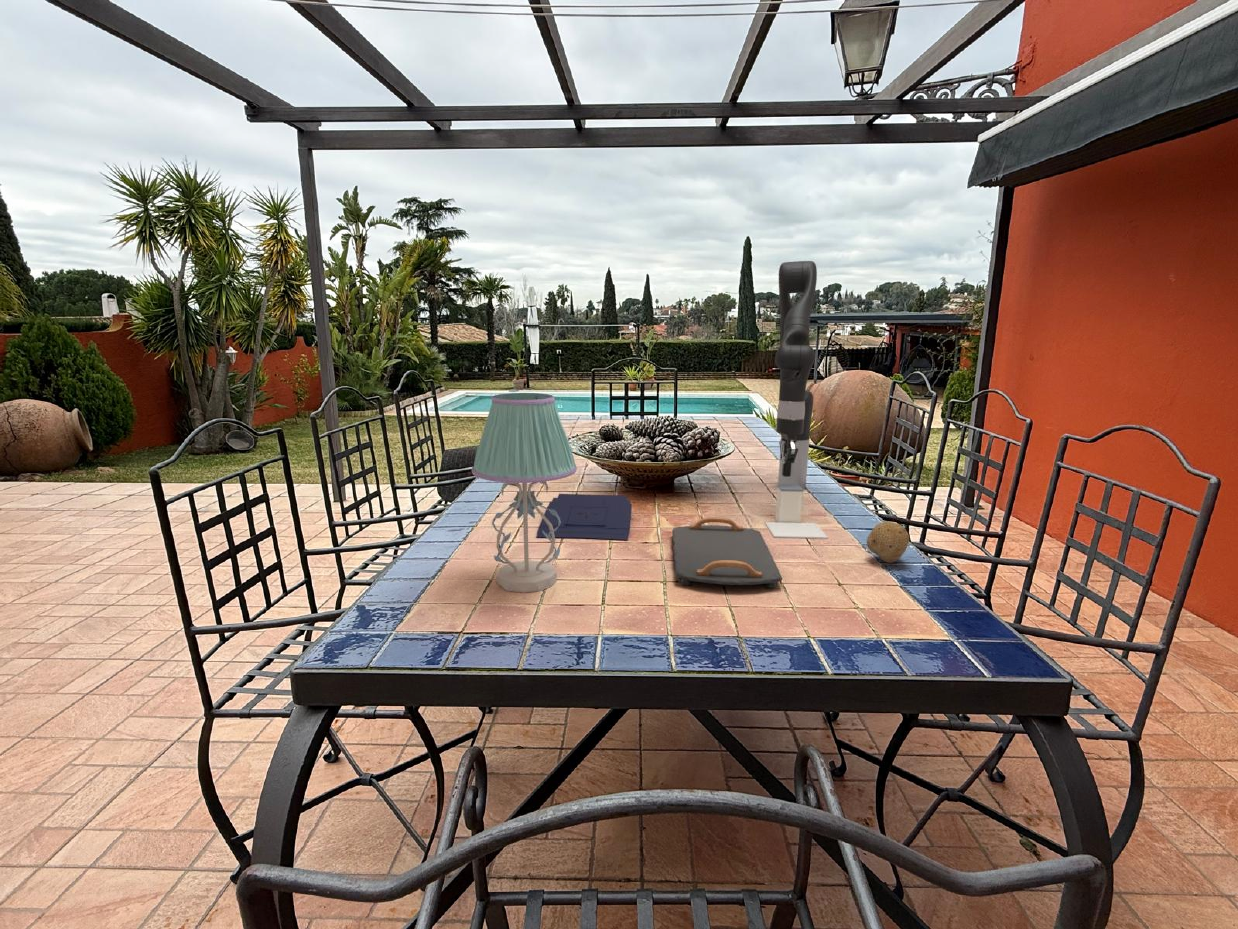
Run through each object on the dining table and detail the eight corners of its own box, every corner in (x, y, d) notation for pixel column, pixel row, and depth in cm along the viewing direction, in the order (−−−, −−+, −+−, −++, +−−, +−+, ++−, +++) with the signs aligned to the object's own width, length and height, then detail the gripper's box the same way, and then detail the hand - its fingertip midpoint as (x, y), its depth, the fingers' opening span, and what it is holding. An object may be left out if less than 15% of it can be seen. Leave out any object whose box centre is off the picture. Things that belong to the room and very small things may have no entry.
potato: (865, 565, 150) (869, 525, 148) (864, 553, 158) (868, 514, 156) (907, 571, 147) (912, 529, 145) (904, 558, 155) (909, 518, 153)
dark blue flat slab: (633, 504, 194) (633, 492, 193) (628, 549, 166) (628, 536, 164) (553, 501, 195) (552, 490, 194) (535, 546, 167) (534, 533, 166)
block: (775, 518, 186) (777, 484, 184) (796, 518, 186) (798, 485, 183) (779, 523, 181) (781, 489, 179) (800, 523, 181) (803, 489, 179)
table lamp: (569, 559, 152) (568, 390, 143) (584, 597, 131) (584, 402, 122) (475, 565, 147) (469, 391, 138) (475, 606, 126) (468, 403, 118)
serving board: (786, 597, 133) (788, 569, 132) (674, 593, 134) (675, 565, 133) (757, 536, 171) (759, 514, 169) (670, 533, 172) (671, 511, 171)
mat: (765, 523, 180) (765, 522, 180) (815, 524, 180) (815, 523, 180) (774, 537, 169) (774, 536, 169) (827, 538, 168) (827, 537, 168)
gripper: (772, 413, 188) (768, 470, 192) (782, 419, 175) (777, 481, 179) (798, 413, 188) (793, 471, 192) (810, 420, 175) (805, 481, 179)
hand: (786, 476), depth 185 cm, fingers closed
